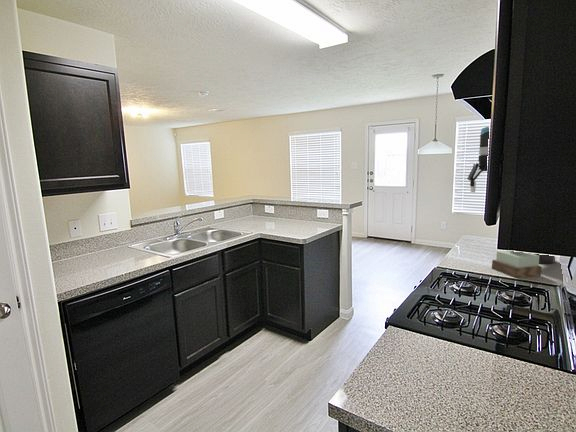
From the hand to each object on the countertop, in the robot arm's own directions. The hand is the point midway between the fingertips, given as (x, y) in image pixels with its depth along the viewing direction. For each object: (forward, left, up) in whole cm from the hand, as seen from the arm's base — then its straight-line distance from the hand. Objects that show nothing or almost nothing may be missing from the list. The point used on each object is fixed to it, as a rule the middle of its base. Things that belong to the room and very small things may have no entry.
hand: (483, 192), depth 188 cm
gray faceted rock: (+7, +33, -27) cm, 44 cm away
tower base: (+7, +33, -37) cm, 51 cm away
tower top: (+7, +34, -32) cm, 47 cm away
